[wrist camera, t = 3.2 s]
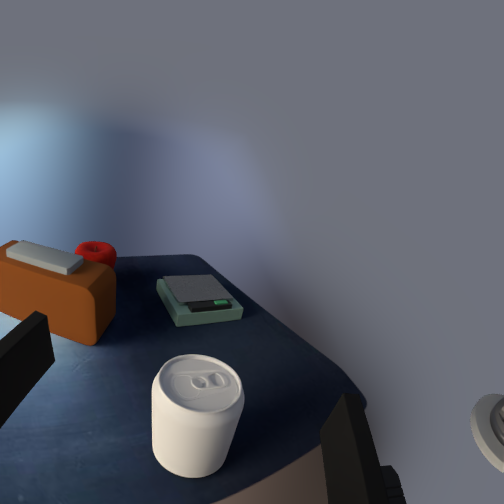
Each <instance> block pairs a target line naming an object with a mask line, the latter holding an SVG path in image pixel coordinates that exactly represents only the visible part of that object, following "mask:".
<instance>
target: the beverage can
mask: <svg viewBox="0 0 504 504" xmlns="http://www.w3.org/2000/svg"><path fill="white" fill-rule="evenodd" d="M243 406H244V392H243V389H242V383H241V380H240V378H239V376H238V375H237V373H236V372H235V371H234V370H233V369H232V368H231V367H230V366H228V365H227V364H225V363H224V362H222V361H220V360H218V359H215V358H212V357H209V356H205V355H196V354H189V355H182V356H178V357H175V358H173V359H171V360H169V361H168V362H166V363H165V364H164V365H163V366H162V368H161V369H160V372H159V373H158V374H157V376H156V377H155V379H154V382H153V385H152V444H153V452H154V454H155V457H156V458H157V460H158V461H159V463H160V464H161V465H162V466H163V467H164V468H166V469H167V470H169V471H170V472H172V473H174V474H177V475H179V476H183V477H189V478H199V477H204V476H207V475H210V474H212V473H214V472H216V471H217V470H218V469H219V468H220V467H221V466H222V465H223V463H224V461H225V458H226V456H227V453H228V450H229V447H230V444H231V441H232V439H233V436H234V433H235V430H236V427H237V424H238V421H239V418H240V415H241V412H242V409H243Z"/></svg>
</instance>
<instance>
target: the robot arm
mask: <svg viewBox="0 0 504 504" xmlns="http://www.w3.org/2000/svg"><path fill="white" fill-rule="evenodd" d="M54 362H55V357H54V353H53V347H52V342H51V336H50V330H49V324H48V317H47V315H45V314H43V313H40V312H38V311H36V310H35V311H34V312H33V313H32V314H30V315H29V316H28V317H27V318H26V319H24V320H23V321H22V322H21V323H20V324H18V325H17V326H16V327H15V328H14V329H13V330H11V331H10V332H9V333H8V334H7V335H6V336H5V337H3V338H2V339H1V340H0V428H1V427H2V426H3V424H4V423H5V422H6V421H7V419H8V418H9V417H10V415H11V414H12V413H13V412H14V410H15V409H16V408H17V406H18V405H19V404H20V403H21V401H22V400H23V399H24V398H25V396H26V395H27V394H28V393H29V392H30V390H31V389H32V388H33V387H34V386H35V384H36V383H37V382H38V381H39V380H40V378H41V377H42V376H43V375H44V374H45V372H46V371H47V370H48V369H49V368H50V367H51V365H52V364H53V363H54ZM490 424H491V428H492V430H493V432H494V434H495V436H496V438H497V439H498V440H499V442H500V443H501V444H502V445H503V446H504V397H503V398H502V399H501V400H500V401H499V402H498V403H497V404H496V405H495V406H494V408H493V409H492V410H491V413H490ZM319 432H320V440H321V447H322V454H323V462H324V469H325V478H326V486H327V495H328V503H329V504H406V501H405V497H404V496H403V495H404V493H403V490H402V488H401V483H400V480H399V476H398V474H397V473H396V471H395V470H394V469H393V468H392V466H391V465H389V466H380V464H379V460H378V457H377V453H376V449H375V446H374V442H373V439H372V435H371V432H370V428H369V425H368V422H367V418H366V415H365V412H364V409H363V405H362V402H361V399H360V396H359V394H349V393H343V394H342V396H341V397H340V399H339V401H338V402H337V404H336V406H335V407H334V409H333V411H332V412H331V414H330V416H329V417H328V419H327V420H326V422H325V424H324V425H323V427H322V428H321V430H320V431H319Z"/></svg>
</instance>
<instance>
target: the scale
mask: <svg viewBox="0 0 504 504" xmlns="http://www.w3.org/2000/svg"><path fill="white" fill-rule="evenodd" d="M156 290H157V292H158V294H159V296H160V298H161V299H162V301H163V303H164V305H165V307H166V309H167V310H168V312H169V314H170V316H171V318H172V319H173V321H174V323H175V325H176V326H177V327H179V326H189V325H198V324H207V323H215V322H223V321H231V320H239V319H241V317H242V313H243V307H242V306H241V305H240V304H239V303H238V302H237V301H236V300H235V299H234V298H233V301H229V300H218V301H206V302H193V303H188V304H185V305H179V304H178V303H177V301H176V299H175V298H174V296H173V295H172V293H171V291H170V290H169V288H168V286H167V285H166V283H165V281H164V280H163V279H157V289H156ZM226 291H227V290H226ZM227 292H228V291H227Z"/></svg>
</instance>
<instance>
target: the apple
mask: <svg viewBox="0 0 504 504" xmlns="http://www.w3.org/2000/svg"><path fill="white" fill-rule="evenodd" d="M75 254H77V255H81V256H83V259H86V260H90V261H94V262H98V263H102V264H106V265H108V266H110V267H111V268H112V269H114V266H115V261H116V258H117V256H116V251H115V249H114V247H112V246H111V245H110V244H108V243H105V242H96V241H91V242H90V241H89V242H83V243H81V244H80V245H79V246H78V247H77V249H76V250H75Z"/></svg>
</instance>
